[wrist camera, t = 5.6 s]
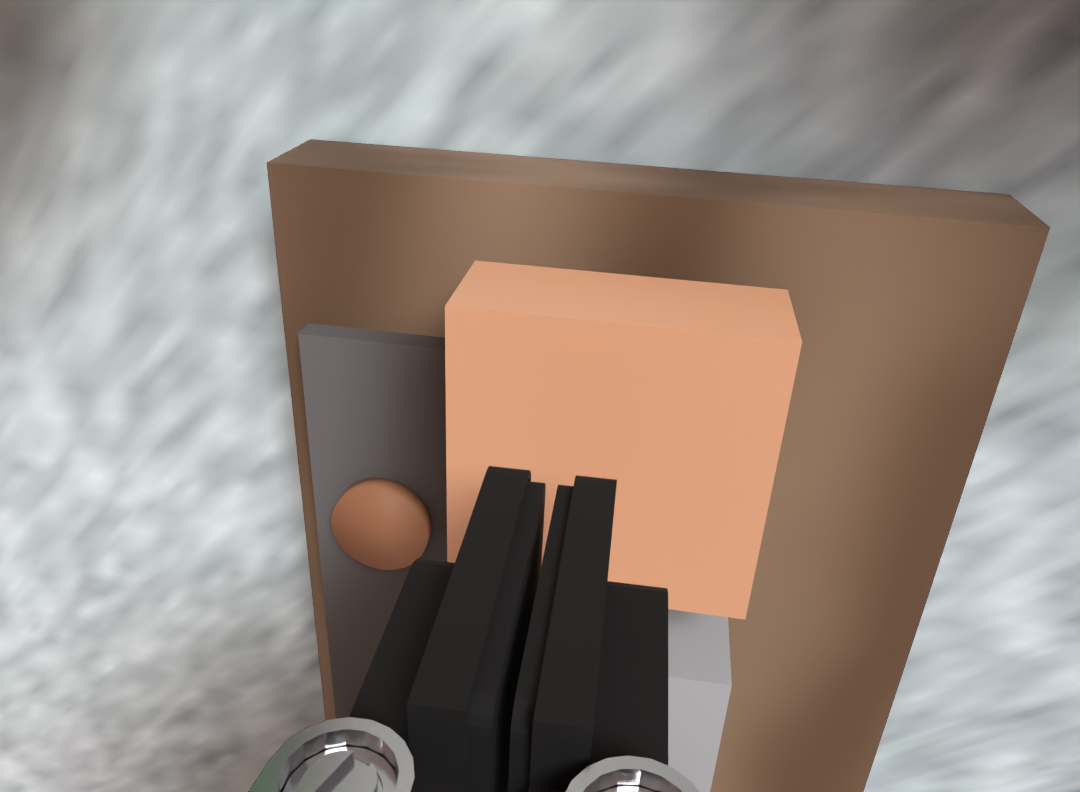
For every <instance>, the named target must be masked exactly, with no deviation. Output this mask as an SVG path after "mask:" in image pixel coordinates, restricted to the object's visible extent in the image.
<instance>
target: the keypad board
mask: <svg viewBox="0 0 1080 792" xmlns="http://www.w3.org/2000/svg"><path fill="white" fill-rule="evenodd" d="M267 170H268V179H269V189H270V198H271V207H272V217H273V226H274V236H275V245H276V255H277V264H278V274H279V283H280V293H281V302H282V312H283V321H284V330H285V340H286V349H287V359H288V368H289V378H290V387H291V397H292V406H293V416H294V425H295V435H296V444H297V453H298V463H299V472H300V482H301V491H302V501H303V510H304V520H305V529H306V539H307V548H308V558H309V567H310V577H311V586H312V595H313V605H314V614H315V624H316V633H317V643H318V652H319V662H320V671H321V681H322V690H323V700H324V709H325V718H326V720H330V719H339V718H347V717H349V716H350V713H351V711H352V708H353V706H354V704H355V701H356V699H357V696H358V694H359V691H360V689H361V687H362V684H363V682H364V679H365V677H366V674H367V672H368V669H369V667H370V665H371V662H372V660H373V657H374V655H375V652H376V650H377V648H378V645H379V643H380V640H381V638H382V635H383V633H384V631H385V628H386V626H387V623H388V621H389V618H390V616H391V613H392V611H393V609H394V606H395V604H396V601H397V599H398V596H399V594H400V592H401V589H402V587H403V584H404V582H405V579H406V577H407V575H408V572H409V570H410V568H411V566H412V564H413V562H414V561H415V560H416V559H417V558H418V559H427V560H435V561H443V562H447V480H446V379H445V305H446V303H447V302H448V300H449V299H450V297H451V296H452V294H453V293H454V291H455V290H456V288H457V287H458V286H459V284H460V283H461V281H462V280H463V278H464V277H465V275H466V274H467V272H468V271H469V269H470V268H471V266H472V265H473V263H474V262H475V261H486V262H497V263H507V264H518V265H529V266H540V267H550V268H561V269H572V270H582V271H593V272H604V273H614V274H625V275H636V276H646V277H657V278H668V279H678V280H689V281H700V282H711V283H721V284H732V285H743V286H753V287H764V288H775V289H785V290H788V292H789V296H790V299H791V303H792V307H793V310H794V314H795V317H796V321H797V325H798V328H799V332H800V335H801V339H802V346H801V350H800V355H799V360H798V365H797V370H796V375H795V380H794V385H793V390H792V394H791V399H790V404H789V409H788V414H787V419H786V424H785V429H784V433H783V438H782V443H781V448H780V453H779V458H778V463H777V468H776V473H775V477H774V482H773V487H772V492H771V497H770V502H769V507H768V512H767V516H766V521H765V526H764V531H763V536H762V541H761V546H760V551H759V555H758V560H757V565H756V570H755V575H754V580H753V585H752V590H751V595H750V599H749V604H748V609H747V614H746V619H745V620H744V619H737V618H730V617H728V626H729V644H730V662H731V680H732V687H731V692H730V697H729V702H728V707H727V712H726V717H725V721H724V726H723V731H722V736H721V741H720V746H719V751H718V756H717V761H716V765H715V770H714V775H713V780H712V785H711V790H710V792H863V791H864V788H865V785H866V782H867V779H868V776H869V773H870V770H871V767H872V764H873V761H874V758H875V755H876V752H877V749H878V746H879V743H880V740H881V737H882V734H883V731H884V728H885V725H886V722H887V719H888V716H889V713H890V709H891V706H892V703H893V700H894V697H895V694H896V691H897V688H898V685H899V682H900V679H901V676H902V673H903V670H904V667H905V664H906V661H907V658H908V655H909V652H910V649H911V646H912V643H913V640H914V637H915V634H916V631H917V628H918V625H919V622H920V619H921V616H922V613H923V610H924V607H925V604H926V601H927V598H928V595H929V592H930V589H931V586H932V583H933V580H934V577H935V574H936V571H937V568H938V564H939V561H940V558H941V555H942V552H943V549H944V546H945V543H946V540H947V537H948V534H949V531H950V528H951V525H952V522H953V519H954V516H955V513H956V510H957V507H958V504H959V501H960V498H961V495H962V492H963V489H964V486H965V483H966V480H967V477H968V474H969V471H970V468H971V465H972V462H973V459H974V456H975V453H976V450H977V447H978V444H979V441H980V438H981V435H982V432H983V429H984V426H985V423H986V419H987V416H988V413H989V410H990V407H991V404H992V401H993V398H994V395H995V392H996V389H997V386H998V383H999V380H1000V377H1001V374H1002V371H1003V368H1004V365H1005V362H1006V359H1007V356H1008V353H1009V350H1010V347H1011V344H1012V341H1013V338H1014V335H1015V332H1016V329H1017V326H1018V323H1019V320H1020V317H1021V314H1022V311H1023V308H1024V305H1025V302H1026V299H1027V296H1028V293H1029V290H1030V287H1031V284H1032V281H1033V278H1034V274H1035V271H1036V268H1037V265H1038V262H1039V259H1040V256H1041V253H1042V250H1043V247H1044V244H1045V241H1046V238H1047V235H1048V232H1049V229H1050V227H1049V226H1048V225H1046V224H1045V223H1044V222H1043V221H1041V220H1040V219H1039V218H1038V217H1036V216H1035V215H1034V214H1033V213H1031V212H1030V211H1029V210H1028V209H1026V208H1025V207H1024V206H1023V205H1022V204H1020V203H1019V202H1018V201H1017V200H1015V199H1014V198H1013V197H1012V196H1010V195H1007V194H995V193H982V192H969V191H957V190H944V189H931V188H919V187H906V186H893V185H881V184H868V183H855V182H843V181H830V180H817V179H805V178H792V177H779V176H767V175H754V174H741V173H729V172H716V171H703V170H691V169H678V168H665V167H653V166H640V165H628V164H615V163H602V162H590V161H577V160H564V159H552V158H539V157H526V156H514V155H501V154H488V153H476V152H463V151H450V150H438V149H425V148H412V147H400V146H387V145H374V144H362V143H349V142H336V141H324V140H309V141H307V142H305V143H303V144H301V145H299V146H297V147H295V148H294V149H292V150H290V151H288V152H286V153H284V154H282V155H280V156H278V157H277V158H275V159H273V160H271V161H269V162H267Z"/></svg>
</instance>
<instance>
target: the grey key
mask: <svg viewBox="0 0 1080 792" xmlns="http://www.w3.org/2000/svg"><path fill="white" fill-rule="evenodd" d="M731 687H732V680H731V662H730V644H729V626H728V617H723V616H715V615H708V614H701V613H693V612H686V611H679V610H671V609H668V766H670V767H672V768H674V769H675V770H677V771H678V772H679V773H681V774H682V775H683V776H685V777H686V778H687V779H689V780H690V781H691V782H692V783H693V784H694V785H695V787H696V788H697V789H698V790H699V792H710V790H711V785H712V780H713V775H714V770H715V765H716V761H717V756H718V751H719V746H720V741H721V736H722V731H723V726H724V721H725V717H726V712H727V707H728V702H729V697H730V692H731Z"/></svg>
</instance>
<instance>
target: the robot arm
mask: <svg viewBox="0 0 1080 792" xmlns="http://www.w3.org/2000/svg"><path fill="white" fill-rule="evenodd" d="M616 486H617V480H615V479H606V478H597V477H588V476H578V475H576V476H575V481H574V486H568V485H558V487H557V491H556V496H555V501H554V506H553V511H552V516H551V521H550V526H549V531H548V536H547V541H546V546H545V551H544V556H543V560H542V546H543V528H544V510H545V492H546V485H545V483H540V482H531V471H530V470H523V469H514V468H505V467H495V466H489V467H488V469H487V471H486V474H485V477H484V479H483V482H482V485H481V488H480V491H479V494H478V497H477V500H476V503H475V506H474V509H473V512H472V515H471V517H470V520H469V523H468V526H467V529H466V532H465V535H464V538H463V541H462V544H461V547H460V550H459V552H458V555H457V558H456V561H455V563H452V562H443V561H435V560H427V559H418V558H417V559H416V560H415V561H414V562H413V564H412V566H411V568H410V570H409V572H408V575H407V577H406V579H405V582H404V584H403V587H402V589H401V592H400V594H399V596H398V599H397V601H396V604H395V606H394V609H393V611H392V613H391V616H390V618H389V621H388V623H387V626H386V628H385V631H384V633H383V635H382V638H381V640H380V643H379V645H378V648H377V650H376V652H375V655H374V657H373V660H372V662H371V665H370V667H369V669H368V672H367V674H366V677H365V679H364V682H363V684H362V687H361V689H360V691H359V694H358V696H357V699H356V701H355V704H354V706H353V708H352V711H351V713H350V716H349V717H347V718H339V719H330V720H326V721H323V722H321V723H318V724H315V725H312V726H310V727H307V728H305V729H304V730H302V731H301V732H299V733H297V734H296V735H294V736H293V737H291V738H290V739H288V740H287V741H286V742H285V743H284V744H283V745H282V746H281V747H280V749H279V750H278V751H277V752H276V753H275V754H274V755H273V756H272V757H271V759H270V760H269V762H268V763H267V765H266V766H265V768H264V769H263V771H262V772H261V774H260V775H259V777H258V778H257V779H256V781H255V782H254V784H253V785H252V787H251V788H250V790H249V791H248V792H699V790H698V789H697V788H696V787H695V785H694V784H693V783H692V782H691V781H690V780H689V779H687V778H686V777H685V776H683V775H682V774H681V773H679V772H678V771H677V770H675V769H674V768H672V767H670V766H668V590H667V588H661V587H652V586H644V585H636V584H627V583H619V582H611V581H607V580H608V570H609V559H610V549H611V538H612V528H613V517H614V507H615V496H616ZM541 564H542V565H541Z"/></svg>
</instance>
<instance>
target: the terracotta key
mask: <svg viewBox="0 0 1080 792" xmlns="http://www.w3.org/2000/svg"><path fill="white" fill-rule="evenodd" d="M801 346H802V339H801V335H800V332H799V328H798V325H797V321H796V317H795V314H794V310H793V307H792V303H791V299H790V296H789V292H788V290H785V289H775V288H764V287H753V286H743V285H732V284H721V283H711V282H700V281H689V280H678V279H668V278H657V277H646V276H636V275H625V274H614V273H604V272H593V271H582V270H572V269H561V268H550V267H540V266H529V265H518V264H507V263H497V262H486V261H475V262H474V263H473V265H472V266H471V268H470V269H469V271H468V272H467V274H466V275H465V277H464V278H463V280H462V281H461V283H460V284H459V286H458V287H457V288H456V290H455V291H454V293H453V294H452V296H451V297H450V299H449V300H448V302H447V303H446V305H445V379H446V480H447V562H452V563H455V561H456V558H457V555H458V552H459V550H460V547H461V544H462V541H463V538H464V535H465V532H466V529H467V526H468V523H469V520H470V517H471V515H472V512H473V509H474V506H475V503H476V500H477V497H478V494H479V491H480V488H481V485H482V482H483V479H484V477H485V474H486V471H487V469H488V467H489V466H495V467H505V468H514V469H523V470H530V471H531V482H540V483H545V485H546V492H545V510H544V528H543V546H542V560H543V556H544V551H545V546H546V541H547V536H548V531H549V526H550V521H551V516H552V511H553V506H554V501H555V496H556V491H557V487H558V485H568V486H574V481H575V476H576V475H578V476H588V477H597V478H606V479H615V480H617V486H616V496H615V507H614V517H613V528H612V538H611V549H610V559H609V570H608V580H607V581H611V582H619V583H627V584H636V585H644V586H652V587H661V588H667V590H668V609H671V610H679V611H686V612H693V613H701V614H708V615H715V616H723V617H730V618H737V619H744V620H745V619H746V614H747V609H748V604H749V599H750V595H751V590H752V585H753V580H754V575H755V570H756V565H757V560H758V555H759V551H760V546H761V541H762V536H763V531H764V526H765V521H766V516H767V512H768V507H769V502H770V497H771V492H772V487H773V482H774V477H775V473H776V468H777V463H778V458H779V453H780V448H781V443H782V438H783V433H784V429H785V424H786V419H787V414H788V409H789V404H790V399H791V394H792V390H793V385H794V380H795V375H796V370H797V365H798V360H799V355H800V350H801ZM541 565H542V564H541Z"/></svg>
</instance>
